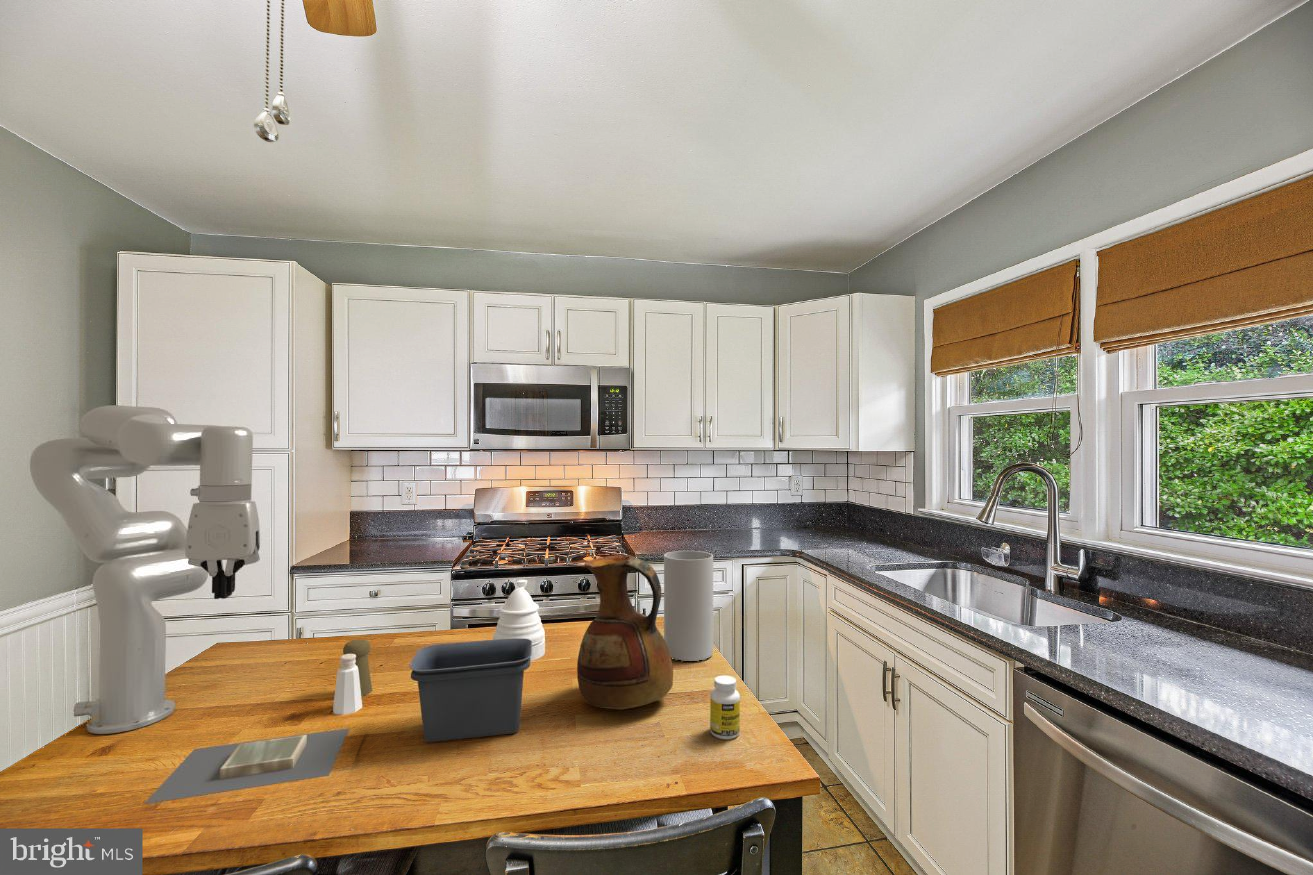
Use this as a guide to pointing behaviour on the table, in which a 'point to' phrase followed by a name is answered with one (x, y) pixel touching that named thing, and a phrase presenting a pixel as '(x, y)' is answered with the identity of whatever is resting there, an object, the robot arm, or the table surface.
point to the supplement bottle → (725, 708)
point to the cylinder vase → (688, 604)
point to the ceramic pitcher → (623, 642)
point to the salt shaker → (347, 687)
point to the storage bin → (471, 687)
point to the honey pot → (521, 620)
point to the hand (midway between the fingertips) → (223, 596)
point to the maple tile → (264, 756)
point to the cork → (361, 662)
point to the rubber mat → (204, 775)
